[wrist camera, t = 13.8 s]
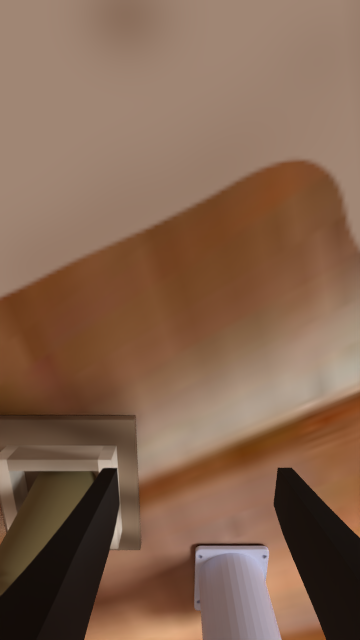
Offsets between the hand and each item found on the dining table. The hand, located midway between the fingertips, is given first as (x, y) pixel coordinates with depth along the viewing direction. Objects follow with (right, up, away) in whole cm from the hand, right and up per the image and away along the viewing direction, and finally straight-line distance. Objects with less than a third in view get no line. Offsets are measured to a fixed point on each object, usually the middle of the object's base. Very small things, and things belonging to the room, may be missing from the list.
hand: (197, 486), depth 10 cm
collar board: (-12, -10, +13) cm, 20 cm away
